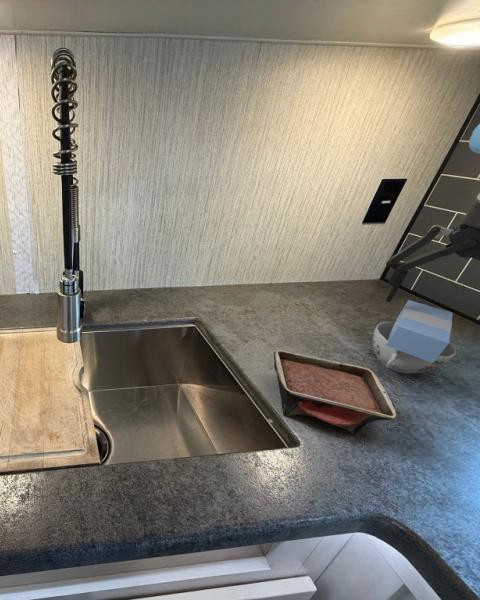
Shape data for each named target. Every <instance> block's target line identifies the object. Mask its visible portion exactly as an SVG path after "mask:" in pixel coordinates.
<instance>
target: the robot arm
mask: <svg viewBox="0 0 480 600" xmlns="http://www.w3.org/2000/svg"><path fill="white" fill-rule="evenodd" d="M468 146H469V149H470V150H471V151H472V152H473V153H474V154H478V155H480V123H479V124H477V126H476V127H475V128H474V129H473V131H472V132H471V135H470V137H469V141H468ZM476 200H477V202H475V203H473V204H472V205H471V206H469V209H468V211H467V212H466V214H464V217H463V218H462V220H461V222H460V223H459V224H458V225H457V226H456V227H455V228H453V229H451V228H448V227H444V226H442V225H441V224H439V223H435V224H433V225H432V226H431V227H430V229H428V231H427V232H426V233H425V234H424V235H423V236H421V237H419V238H418V239H417V240H415V241H414V242H412V243H411V244H409V245H408V246H406V247H404V248H403V249H402V250H400V251H399V252H396V253H395V254H394V255H393V256H391V257H390V258H388V260H387V261H386V263H385V265H386V267H388V268H391V269H393V273H392V275H391V276H390V278H389V280H388V282H387V285H388V286H392V288H391V291H390V292H389V294H388V295H387V297H386V299H385V302H388V303H391V302H392V300H393V298H394V297H395V295H396V293H397V291H398V290H399V289H400V287H401V285H402V283H404V280H405V279H406V277H407V275H408V273H409V271H410V270H411V269H415V268H416V267H419V266H423V265H424V264H427V263H430V262H432V261H435V260H438V259H441V258H443V257H447V256H450V255H453V254H455V255H457V256H458V257H459V258H465V259H473V260H476V261H478V262H479V261H480V192H479V193H478V195H477V196H476ZM445 236H448V239H449V241H450V243H447V244H444V245H442V246H441V247H438V248H436V249H433V250H431V251H428V252H425V253H424V254H420V255H418V256H416V257H413V258H411V259H408V260H406V261H403V260H405V259H406V258H408V257H409V256H411V255H412V254H414V253H416V252H417V251H418V250H420V249H422V248H423V247H424V246H426V245H428V244H429V243H430V242H432V241H433V240H435V239H436V240H439V239H441V238H442V237H445ZM401 261H403V262H401Z"/></svg>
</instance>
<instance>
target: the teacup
mask: <svg viewBox="0 0 480 600" xmlns="http://www.w3.org/2000/svg"><path fill="white" fill-rule="evenodd" d="M395 322H396V321H382V322H379V323H378V324H377V325H376V327H375V329H374V331H373V335H372V347H373V351H374V353H375V355H376V357H377V358H378V359H379V361H380V363H381V364H382V365H383V366H384V367H385V368H387V369H389V370H391V371H393V372H396V373H400V374H407V375H409V374H420V373H421V374H422V373H426V372H430V371H433V370H436V369H438V368H440V367H441V366H443V365H445V364H446V363H448V362H450V360H451V359H453V357H455V356H456V355H457V350H456V347H455V346H454V345H452V343H451V342H449V344H448V345H447V346H446V348H445V349H444V350H443V351H442V353H441V354H440V355H439V356H438V358H437V359H436V360H435V362H434V363H431V362H428V361H426V360H423V359H420V358H418V357H415V356H412V355H409V354H407V353H404V352H401V351H399V350H396V349H393V348H391V347H388V346H386V344H387V342H388V339H389V337H390V333H391V331H392V328H393V326H394V324H395Z"/></svg>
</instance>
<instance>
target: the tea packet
mask: <svg viewBox="0 0 480 600" xmlns="http://www.w3.org/2000/svg"><path fill="white" fill-rule="evenodd" d="M453 314H454V312H451V311H449V310H445V309H441V308H438V307H434V306H431V305H427V304H424V303H421V302H417V301H414V300H411V299H408V300H407V302H406V303H405V305H404V306H403V308H402V310H401V311H400V312H399V314H398V316H397V317H396V320H395V321H394V322H395V324H394V326H393V328H392V331H391V333H390V337H389V339H388V342H387V344H386V346H388V347H391V348H393V349H396V350H399V351H401V352H404V353H407V354H409V355H412V356H415V357H418V358H420V359H423V360H426V361H428V362H431V363H434V362H435V360H436V359H437V358H438V356H439V355H440V354H441V353H442V351H443V350H444V349H445V348H446V346H447V345H448V344H449V343H450V339H451V333H452V329H453V328H452V327H453V316H454V315H453Z"/></svg>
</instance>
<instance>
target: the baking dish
mask: <svg viewBox="0 0 480 600" xmlns="http://www.w3.org/2000/svg"><path fill="white" fill-rule="evenodd" d="M273 359H274V360H273V361H274V362H273V367H274V370H275V373H276V377H277V383H278V387H279V394H280V401H281V402H280V403H281V409H282V415H283V417H288V416H304V417H305V416H306V417H315V418H316V419H317V420H319V421H322V422H324V423H326V424H328V425H331V426H336V427H339V428H341V429H344V430H347V431H349V432H350V433H351V434H353V435H354V436H356V435H357V434H358V433H359V432H360V431H361V430H362V429H363V428H364V427H365V426H366V425H367V424H369V423H374V422H379V421H389V420H395V419H396V418H397V416H398V415H397V414H398V413H397V409H396V404H394V402H393V401H392V398H391V397H390V394H389V393H388V390H387V389H386V388H385V385H384V384H383V383H382V382H381V381H380V379H379V378H378V377H377V375H376V374H375V372H373V371H372V370H371V369H369V368H368V367H364V366H360V365H357V364H350V363H345V362H339V361H335V360H331V359H325V358H321V357H316V356H311V355H307V354H301V353H296V352H292V351H287V350H281V349H278V350H277V349H276V350H275V351H274V352H273Z"/></svg>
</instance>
